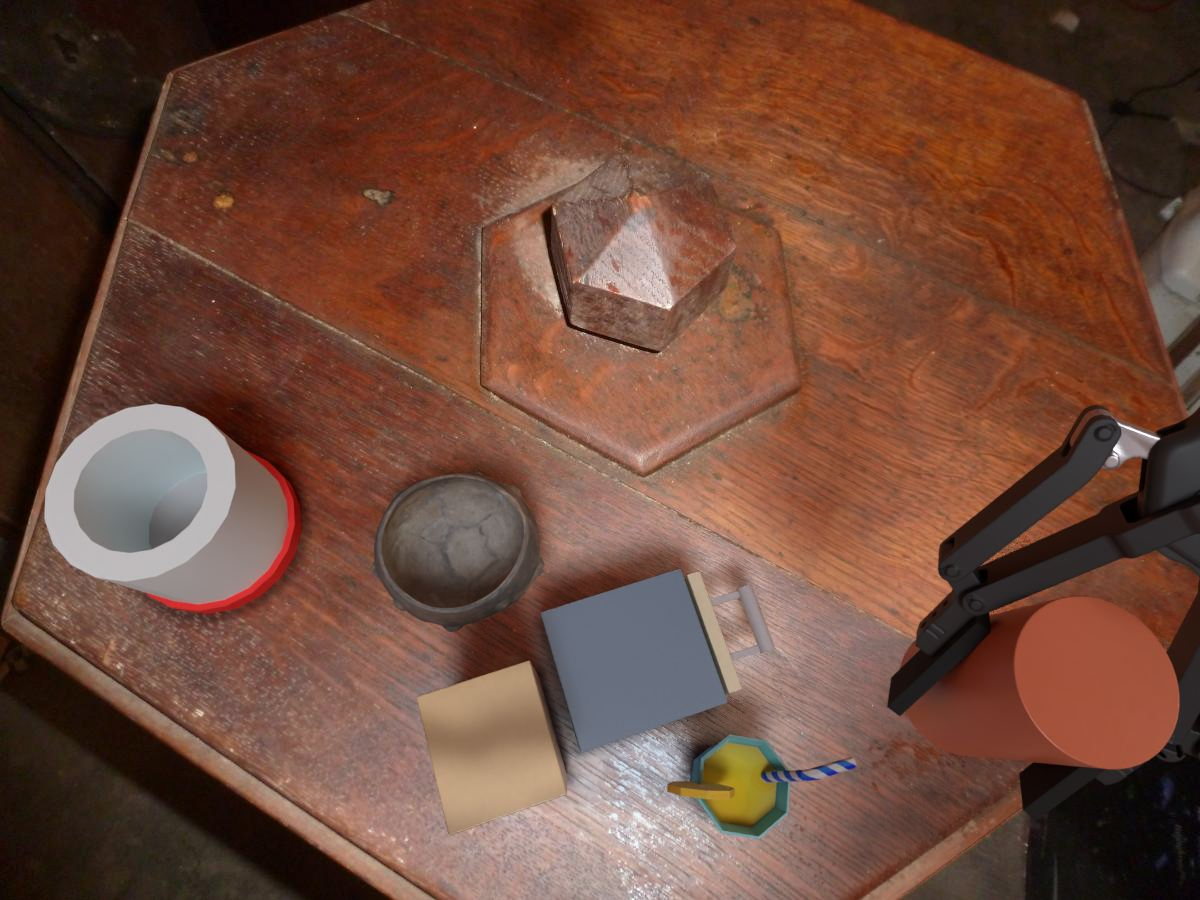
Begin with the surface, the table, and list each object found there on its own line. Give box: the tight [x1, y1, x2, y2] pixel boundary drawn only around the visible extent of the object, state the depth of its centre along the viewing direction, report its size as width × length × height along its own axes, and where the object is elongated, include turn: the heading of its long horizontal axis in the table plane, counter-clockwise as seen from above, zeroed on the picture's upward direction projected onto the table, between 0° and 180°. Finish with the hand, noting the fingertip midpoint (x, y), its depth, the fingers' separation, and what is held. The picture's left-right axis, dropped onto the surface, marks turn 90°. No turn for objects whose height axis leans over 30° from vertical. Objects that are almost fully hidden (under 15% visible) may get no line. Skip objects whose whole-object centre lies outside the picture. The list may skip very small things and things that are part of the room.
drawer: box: [684, 570, 776, 695], centre depth 69 cm, size 16×10×8 cm, turn 108°
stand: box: [416, 660, 568, 836], centre depth 61 cm, size 9×8×20 cm
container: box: [43, 403, 303, 615], centre depth 69 cm, size 16×16×15 cm
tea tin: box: [899, 595, 1180, 769], centre depth 38 cm, size 7×7×12 cm
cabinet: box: [540, 567, 729, 754], centre depth 69 cm, size 13×12×10 cm
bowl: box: [371, 471, 546, 633], centre depth 71 cm, size 14×15×10 cm
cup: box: [666, 734, 857, 840], centre depth 63 cm, size 14×8×15 cm, turn 104°
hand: (960, 745), depth 39 cm, fingers closed on tea tin, 7 cm apart
